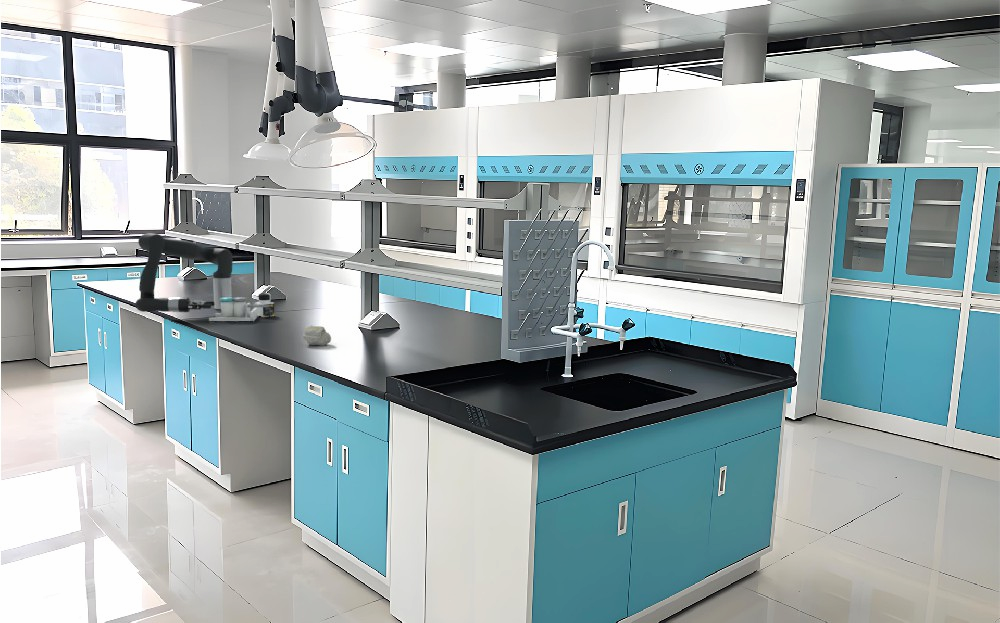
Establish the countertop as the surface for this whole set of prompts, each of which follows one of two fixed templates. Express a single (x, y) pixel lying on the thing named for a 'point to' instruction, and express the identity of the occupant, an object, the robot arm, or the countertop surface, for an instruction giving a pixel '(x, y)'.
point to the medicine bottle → (265, 300)
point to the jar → (227, 307)
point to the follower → (247, 306)
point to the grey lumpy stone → (316, 335)
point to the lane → (252, 317)
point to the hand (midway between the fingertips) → (212, 304)
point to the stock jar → (239, 306)
